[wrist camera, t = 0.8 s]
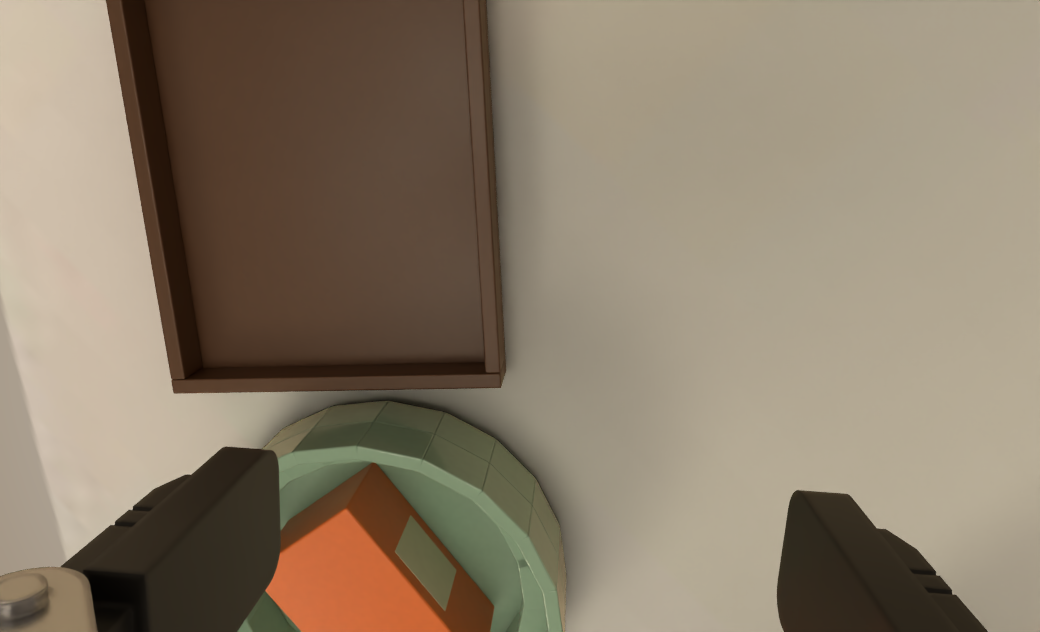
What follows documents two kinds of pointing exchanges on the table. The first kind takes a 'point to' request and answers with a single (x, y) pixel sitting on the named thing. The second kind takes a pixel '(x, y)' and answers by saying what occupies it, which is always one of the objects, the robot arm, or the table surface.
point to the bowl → (434, 502)
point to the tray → (317, 190)
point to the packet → (372, 567)
